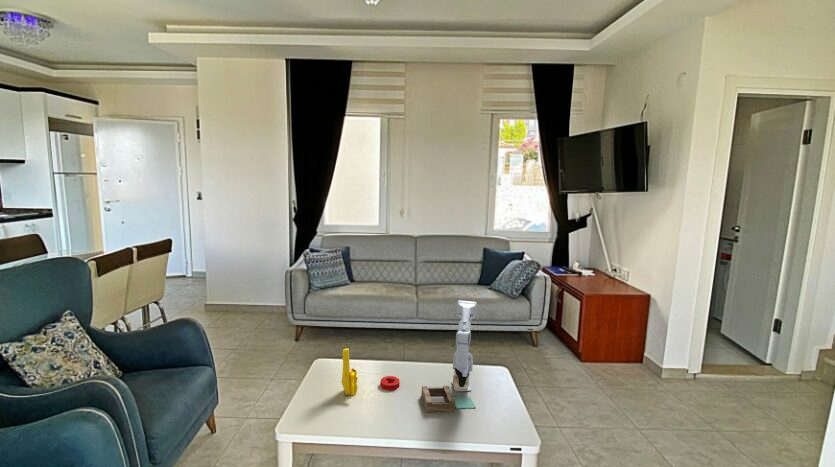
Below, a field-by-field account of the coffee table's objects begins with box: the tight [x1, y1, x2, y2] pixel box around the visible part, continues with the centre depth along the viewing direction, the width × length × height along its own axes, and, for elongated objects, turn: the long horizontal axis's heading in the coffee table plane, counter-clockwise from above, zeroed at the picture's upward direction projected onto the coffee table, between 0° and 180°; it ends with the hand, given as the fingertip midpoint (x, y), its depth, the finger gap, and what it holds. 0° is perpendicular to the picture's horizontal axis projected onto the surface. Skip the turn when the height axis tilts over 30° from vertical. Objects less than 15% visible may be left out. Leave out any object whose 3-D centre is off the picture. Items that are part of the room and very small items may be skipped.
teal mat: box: [453, 397, 477, 410], centre depth 197 cm, size 9×9×1 cm
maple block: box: [452, 374, 468, 390], centre depth 196 cm, size 4×6×5 cm, turn 97°
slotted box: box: [421, 385, 456, 414], centre depth 196 cm, size 15×13×5 cm
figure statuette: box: [341, 348, 359, 397], centre depth 201 cm, size 18×8×22 cm, turn 7°
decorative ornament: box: [379, 375, 401, 391], centre depth 211 cm, size 10×10×3 cm
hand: (460, 384), depth 196 cm, fingers closed on maple block, 4 cm apart
